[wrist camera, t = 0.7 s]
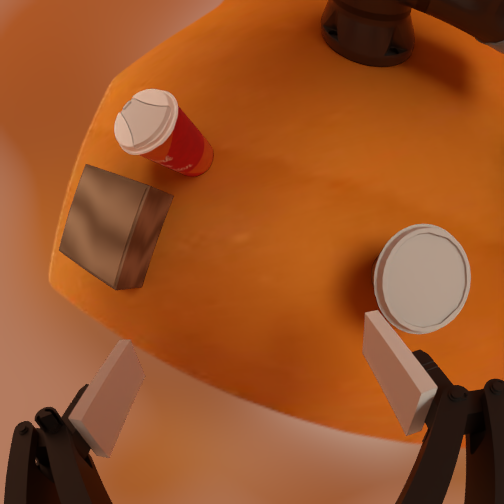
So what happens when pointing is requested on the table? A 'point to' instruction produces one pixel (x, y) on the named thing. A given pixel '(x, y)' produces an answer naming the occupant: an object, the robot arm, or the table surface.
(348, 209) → the table surface
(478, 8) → the robot arm
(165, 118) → the paper cup
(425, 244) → the disposable coffee cup
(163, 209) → the walnut box
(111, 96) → the table surface
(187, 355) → the table surface
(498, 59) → the table surface
